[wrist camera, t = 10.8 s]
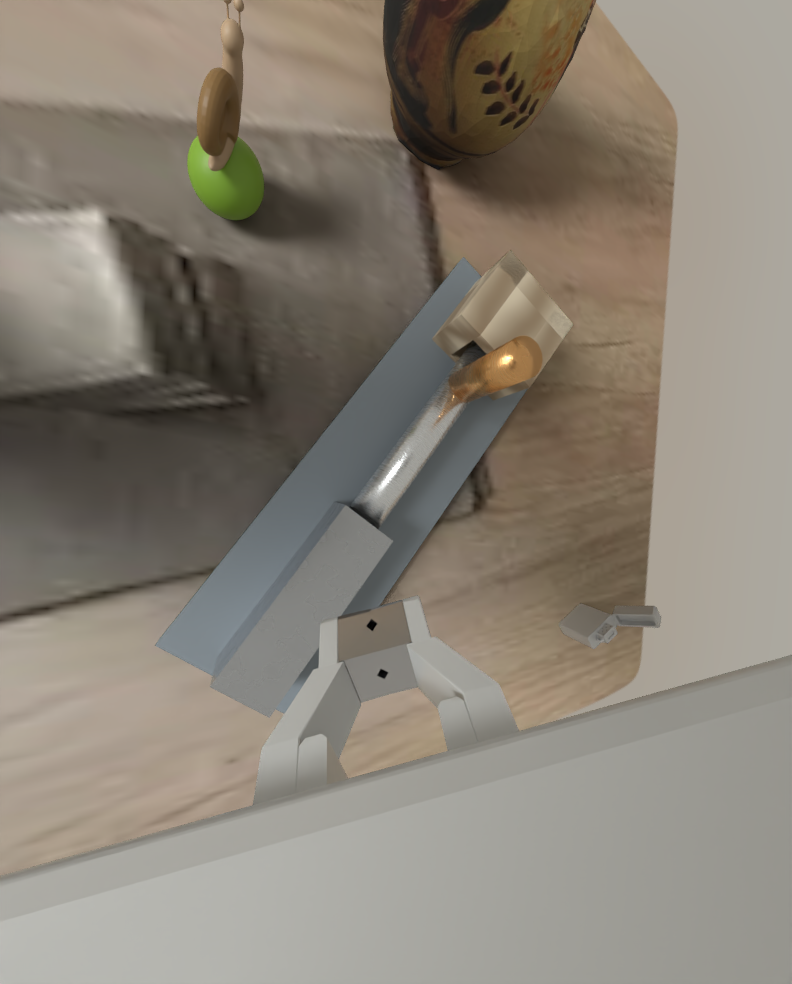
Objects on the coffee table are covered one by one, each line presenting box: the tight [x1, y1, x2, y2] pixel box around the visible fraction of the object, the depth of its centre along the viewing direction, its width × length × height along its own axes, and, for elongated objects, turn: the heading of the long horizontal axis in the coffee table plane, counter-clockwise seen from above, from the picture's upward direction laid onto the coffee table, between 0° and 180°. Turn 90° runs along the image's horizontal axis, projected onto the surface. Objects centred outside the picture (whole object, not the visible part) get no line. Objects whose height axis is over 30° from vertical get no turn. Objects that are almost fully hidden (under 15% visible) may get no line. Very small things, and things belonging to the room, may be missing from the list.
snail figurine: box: [187, 0, 264, 220], centre depth 26 cm, size 5×6×12 cm
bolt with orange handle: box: [349, 336, 543, 529], centre depth 31 cm, size 3×24×11 cm, turn 143°
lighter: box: [559, 603, 661, 649], centre depth 42 cm, size 7×2×8 cm, turn 123°
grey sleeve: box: [210, 502, 393, 718], centre depth 31 cm, size 5×16×5 cm, turn 143°
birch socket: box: [432, 250, 573, 400], centre depth 36 cm, size 9×8×6 cm
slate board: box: [155, 257, 528, 714], centre depth 36 cm, size 14×45×1 cm, turn 143°
